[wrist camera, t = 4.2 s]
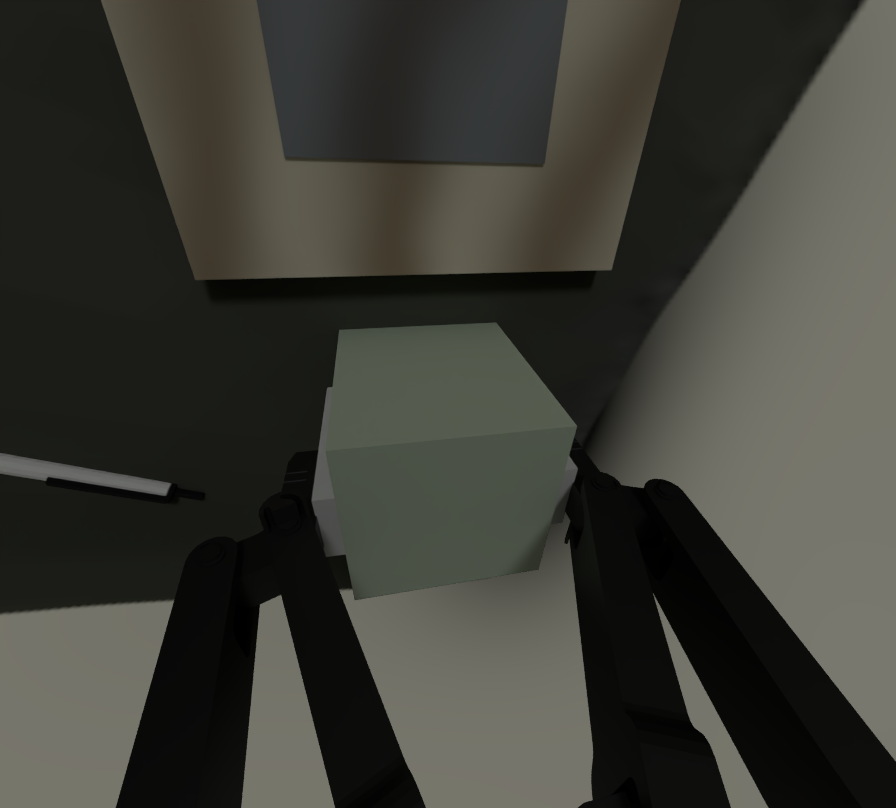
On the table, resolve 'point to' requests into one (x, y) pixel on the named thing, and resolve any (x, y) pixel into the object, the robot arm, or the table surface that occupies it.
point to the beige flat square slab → (395, 130)
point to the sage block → (441, 456)
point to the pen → (93, 480)
